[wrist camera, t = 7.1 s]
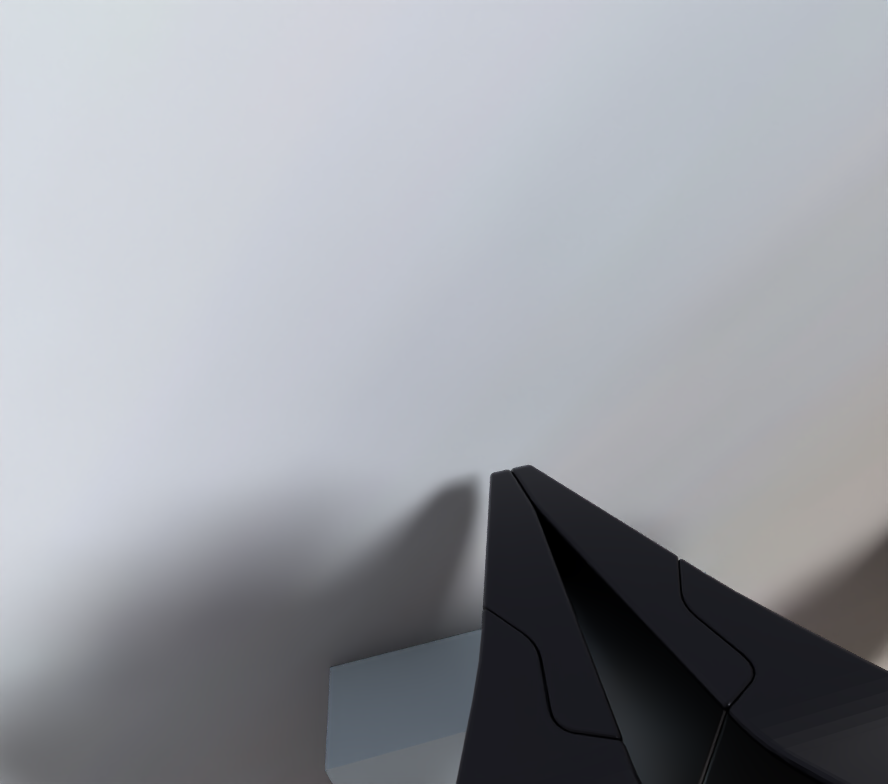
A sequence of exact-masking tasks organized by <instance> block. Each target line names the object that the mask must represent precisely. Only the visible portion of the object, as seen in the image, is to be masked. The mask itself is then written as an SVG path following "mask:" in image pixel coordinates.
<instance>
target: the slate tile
mask: <svg viewBox="0 0 888 784" xmlns="http://www.w3.org/2000/svg"><path fill="white" fill-rule="evenodd" d="M704 573H705V572H704ZM480 641H481V629H479V630H475V631H472V632H468V633H464V634H460V635H456V636H452V637H448V638H444V639H440V640H436V641H432V642H428V643H424V644H420V645H416V646H412V647H409V648H405V649H401V650H397V651H393V652H389V653H385V654H381V655H377V656H373V657H369V658H365V659H361V660H357V661H353V662H350V663H346V664H342V665H338V666H334V667H330V679H329V699H328V720H327V740H326V760H325V771H326V773H327V775H328V777H329V779H330V780H331V782H332V784H456V780H457V775H458V770H459V765H460V760H461V755H462V750H463V745H464V740H465V734H466V729H467V724H468V719H469V714H470V709H471V704H472V699H473V693H474V687H475V681H476V675H477V669H478V662H479V652H480Z"/></svg>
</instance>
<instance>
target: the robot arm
mask: <svg viewBox="0 0 888 784" xmlns="http://www.w3.org/2000/svg"><path fill="white" fill-rule="evenodd" d="M456 784H888V671H887V670H885V669H883V668H881V667H879V666H877V665H875V664H873V663H871V662H869V661H867V660H865V659H863V658H861V657H859V656H857V655H855V654H854V653H852V652H850V651H848V650H846V649H844V648H842V647H840V646H838V645H836V644H834V643H832V642H831V641H829V640H827V639H825V638H823V637H821V636H819V635H817V634H815V633H813V632H811V631H809V630H807V629H806V628H804V627H802V626H800V625H798V624H796V623H794V622H792V621H790V620H788V619H786V618H784V617H783V616H781V615H779V614H777V613H775V612H773V611H771V610H769V609H767V608H766V607H764V606H762V605H760V604H758V603H756V602H755V601H753V600H751V599H749V598H747V597H745V596H744V595H742V594H740V593H738V592H736V591H734V590H733V589H731V588H729V587H728V586H726V585H724V584H723V583H721V582H719V581H718V580H716V579H714V578H712V577H711V576H709V575H707V574H706V573H704V572H702V571H701V570H699V569H698V568H696V567H694V566H693V565H691V564H690V563H688V562H686V561H685V560H683V559H680V560H679V561H678V557H677V556H676V555H675V554H673V553H672V552H670V551H668V550H667V549H665V548H663V547H662V546H660V545H659V544H657V543H655V542H654V541H652V540H651V539H649V538H647V537H646V536H644V535H643V534H641V533H639V532H638V531H636V530H635V529H633V528H631V527H630V526H628V525H626V524H625V523H623V522H622V521H620V520H618V519H617V518H615V517H614V516H612V515H610V514H609V513H607V512H606V511H604V510H602V509H601V508H599V507H598V506H596V505H594V504H593V503H591V502H590V501H588V500H586V499H585V498H583V497H581V496H580V495H578V494H577V493H575V492H573V491H572V490H570V489H569V488H567V487H565V486H564V485H562V484H561V483H559V482H557V481H556V480H554V479H553V478H551V477H549V476H548V475H546V474H545V473H543V472H541V471H540V470H538V469H536V468H535V467H533V466H531V465H525V466H520V467H516V468H513V469H512V470H511V471H510V470H503V471H499V472H494V473H492V474H491V476H490V491H489V509H488V526H487V544H486V562H485V580H484V598H483V612H482V629H481V641H480V652H479V662H478V669H477V675H476V681H475V687H474V693H473V699H472V704H471V709H470V714H469V719H468V724H467V729H466V734H465V740H464V745H463V750H462V755H461V760H460V765H459V770H458V775H457V780H456Z"/></svg>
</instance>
